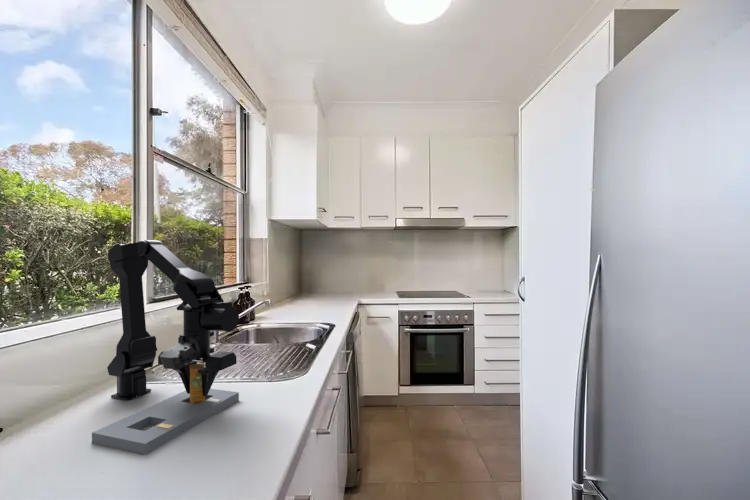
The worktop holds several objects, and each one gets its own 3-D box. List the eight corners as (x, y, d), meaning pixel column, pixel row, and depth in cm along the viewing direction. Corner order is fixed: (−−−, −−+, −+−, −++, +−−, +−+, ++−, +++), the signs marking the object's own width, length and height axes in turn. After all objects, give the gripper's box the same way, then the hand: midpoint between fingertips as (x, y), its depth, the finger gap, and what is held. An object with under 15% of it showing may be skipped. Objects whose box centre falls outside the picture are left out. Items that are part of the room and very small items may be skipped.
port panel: (91, 443, 68) (91, 431, 68) (194, 394, 92) (194, 385, 92) (145, 454, 64) (145, 442, 64) (238, 400, 88) (238, 391, 88)
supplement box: (189, 411, 82) (189, 368, 82) (189, 405, 85) (189, 364, 85) (205, 408, 84) (205, 365, 84) (204, 402, 87) (204, 362, 87)
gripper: (136, 334, 80) (136, 403, 80) (201, 339, 74) (202, 413, 74) (177, 324, 90) (178, 385, 90) (237, 328, 85) (238, 393, 84)
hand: (197, 394), depth 84 cm, fingers closed on supplement box, 4 cm apart
